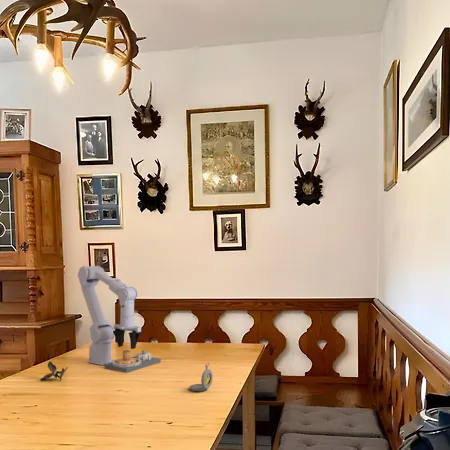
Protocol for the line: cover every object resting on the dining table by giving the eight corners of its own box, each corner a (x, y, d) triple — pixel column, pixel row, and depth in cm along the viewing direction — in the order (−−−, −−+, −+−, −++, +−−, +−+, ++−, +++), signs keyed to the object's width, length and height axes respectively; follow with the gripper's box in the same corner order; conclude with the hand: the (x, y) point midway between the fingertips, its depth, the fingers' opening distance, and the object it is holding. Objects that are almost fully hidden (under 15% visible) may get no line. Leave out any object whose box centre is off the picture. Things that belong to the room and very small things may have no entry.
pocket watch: (189, 387, 168) (189, 359, 169) (212, 386, 169) (212, 358, 169) (189, 393, 160) (189, 364, 161) (213, 393, 161) (213, 364, 161)
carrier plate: (104, 368, 195) (104, 356, 195) (139, 358, 213) (139, 347, 213) (126, 372, 188) (126, 360, 188) (160, 362, 206) (160, 350, 206)
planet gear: (111, 364, 195) (112, 351, 196) (126, 360, 203) (126, 347, 203) (126, 367, 191) (126, 353, 191) (140, 362, 198) (140, 350, 198)
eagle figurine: (69, 373, 182) (49, 368, 184) (67, 361, 179) (46, 355, 180) (58, 389, 176) (37, 383, 178) (55, 376, 172) (34, 370, 174)
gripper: (108, 315, 199) (107, 347, 198) (132, 318, 191) (132, 351, 190) (120, 313, 205) (120, 344, 204) (144, 316, 197) (144, 348, 196)
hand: (126, 347), depth 197 cm, fingers open, 7 cm apart
